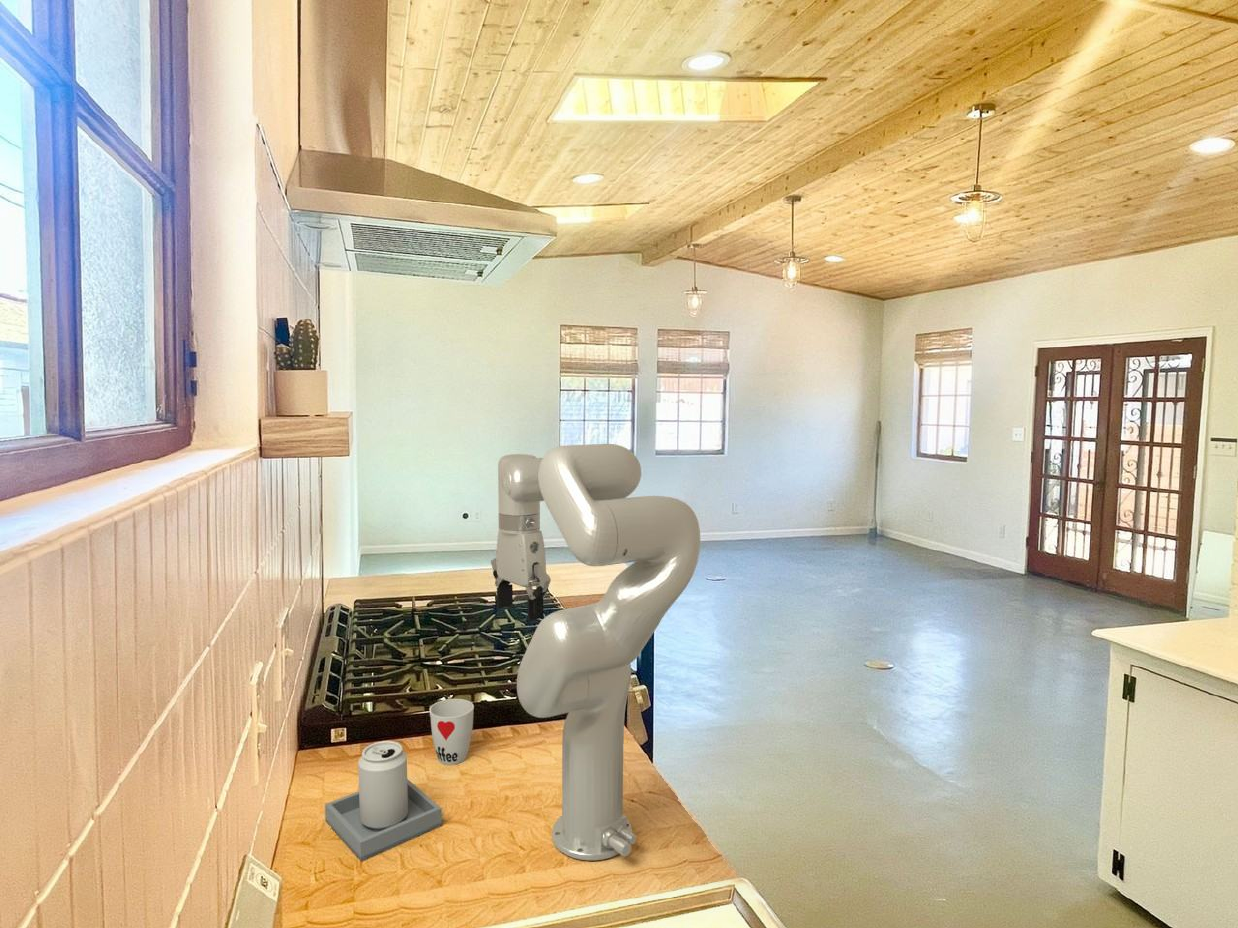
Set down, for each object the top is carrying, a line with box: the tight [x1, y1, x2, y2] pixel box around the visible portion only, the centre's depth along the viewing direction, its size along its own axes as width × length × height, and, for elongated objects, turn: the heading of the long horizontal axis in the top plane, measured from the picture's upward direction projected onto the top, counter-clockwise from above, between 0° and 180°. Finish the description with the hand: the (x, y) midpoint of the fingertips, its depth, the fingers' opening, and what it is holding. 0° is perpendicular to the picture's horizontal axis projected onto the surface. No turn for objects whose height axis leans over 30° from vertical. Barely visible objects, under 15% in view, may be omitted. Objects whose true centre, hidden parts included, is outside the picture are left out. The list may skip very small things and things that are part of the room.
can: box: [357, 740, 408, 830], centre depth 121 cm, size 8×8×12 cm
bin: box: [324, 778, 443, 862], centre depth 121 cm, size 14×14×3 cm
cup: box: [429, 698, 475, 766], centre depth 142 cm, size 8×8×10 cm
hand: (519, 612), depth 140 cm, fingers open, 9 cm apart
